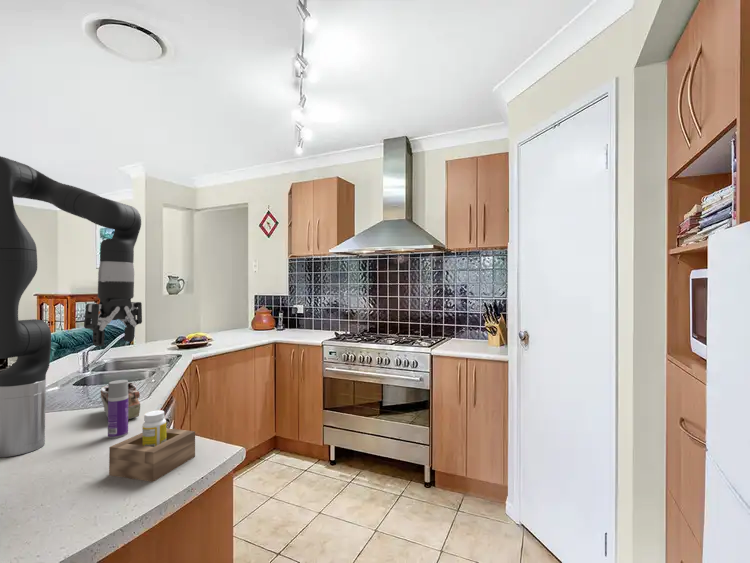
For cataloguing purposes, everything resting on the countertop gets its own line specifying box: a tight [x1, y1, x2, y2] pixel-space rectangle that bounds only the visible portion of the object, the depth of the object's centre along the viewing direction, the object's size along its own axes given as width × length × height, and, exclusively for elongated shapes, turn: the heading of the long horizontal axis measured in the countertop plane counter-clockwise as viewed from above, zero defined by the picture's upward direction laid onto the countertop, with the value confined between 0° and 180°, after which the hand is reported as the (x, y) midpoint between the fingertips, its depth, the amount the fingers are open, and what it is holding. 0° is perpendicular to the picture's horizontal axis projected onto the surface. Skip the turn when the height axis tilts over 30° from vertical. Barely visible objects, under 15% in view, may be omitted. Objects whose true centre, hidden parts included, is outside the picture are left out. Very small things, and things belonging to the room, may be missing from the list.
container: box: [107, 379, 129, 440], centre depth 102 cm, size 5×5×15 cm
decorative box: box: [100, 382, 141, 420], centre depth 118 cm, size 13×20×10 cm, turn 37°
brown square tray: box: [108, 427, 196, 483], centre depth 84 cm, size 12×12×6 cm
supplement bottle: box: [141, 409, 167, 447], centre depth 84 cm, size 5×5×8 cm
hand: (114, 343), depth 92 cm, fingers open, 8 cm apart
